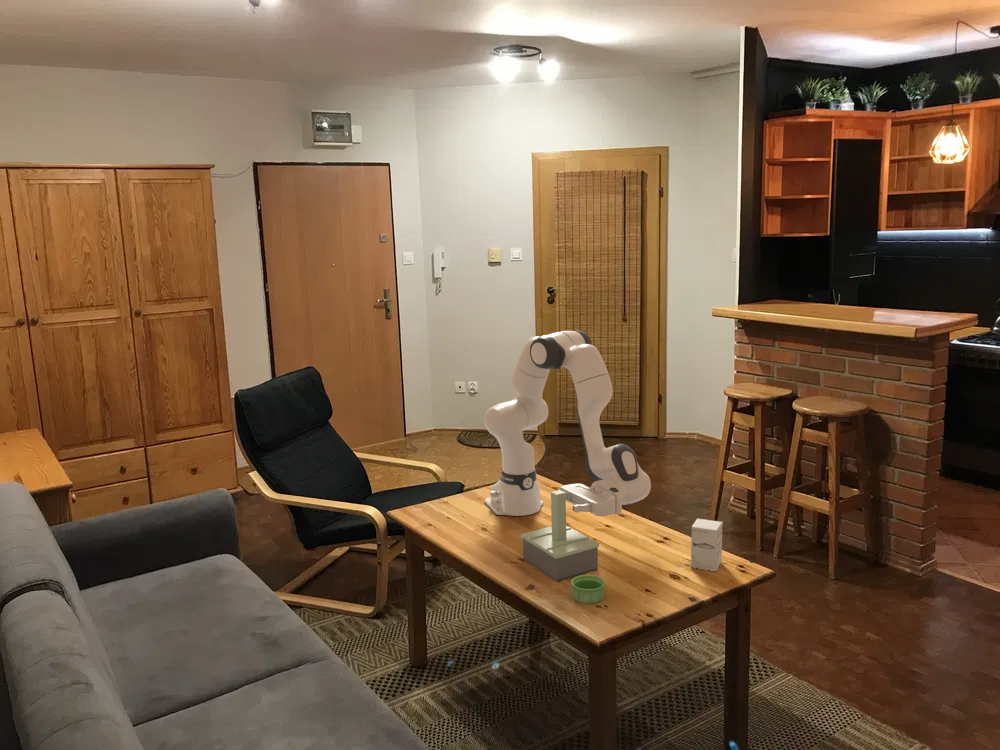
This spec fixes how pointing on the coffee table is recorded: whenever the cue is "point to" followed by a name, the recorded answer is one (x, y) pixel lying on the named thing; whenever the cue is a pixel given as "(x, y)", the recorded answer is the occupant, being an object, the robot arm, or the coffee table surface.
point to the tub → (561, 562)
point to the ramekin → (588, 588)
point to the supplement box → (706, 544)
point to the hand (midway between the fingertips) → (564, 504)
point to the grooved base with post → (559, 532)
